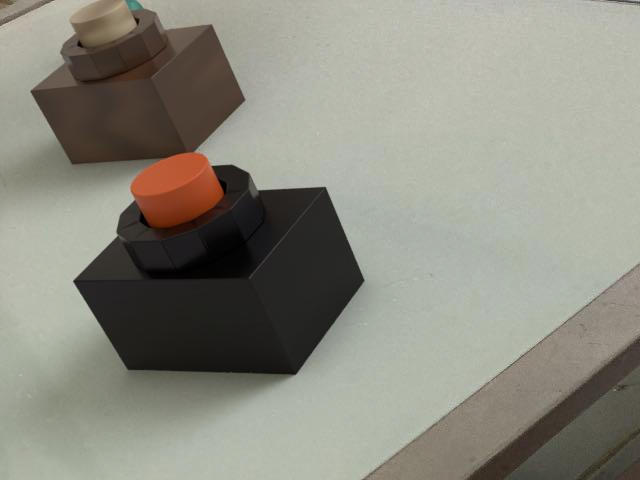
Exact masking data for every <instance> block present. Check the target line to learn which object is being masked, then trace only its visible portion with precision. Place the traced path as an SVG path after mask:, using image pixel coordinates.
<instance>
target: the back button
mask: <svg viewBox="0 0 640 480" xmlns="http://www.w3.org/2000/svg"><path fill="white" fill-rule="evenodd" d="M68 20H69V21H68V22H69V24H70V25H71V28H72V29H73V32H74V34H76V35H77V37H78V39H79V40H80V42H81V44H82V46H83V48H88V47H96V46H99V45H102V44H105V43H108V42H111V41H114V40H116V39H118V38H120V37H122V36H124V35H126V34H127V33H129V32H130V31H132V30H133V29H134V28H135V27H136V26H137V24H136V22H135V19H134V17H133V15H132V13H131V11H130V9H129V7H128V5H127V3H126V1H125V0H96V1H94V2H92V3H89V4H87V5H85V6H83V7H81V8H80V9H78V10H77V11H76V12H74V13H73V14H72V15H71V16H70V17H69V19H68Z"/></svg>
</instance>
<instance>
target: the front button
mask: <svg viewBox="0 0 640 480" xmlns="http://www.w3.org/2000/svg"><path fill="white" fill-rule="evenodd" d="M211 166H212V165H211V162H210V160H209V159H208V157H207V156H206V155H205V154H204V153H200V152H195V151H194V152H193V153H183V154H178V155H175V156H171V157H168V158H162V159H160V160H159V161H157V162H155V163H153V164H151V165H150V166H148V167H146V168H145V169H143V170H142V171H141V172H140V173H138V174H137V175H136V176H135V178H134V179H133V180H132V182H131V183H130V187H129V189H130V193H131V194H132V197H133V199H134V200H136V202H137V204H138V206H139V208H140V210H141V211H142V213H143V215H144V217H145V219H146V221H147V222H148V224H149V226H150V227H151V228H167V227H172V226H175V225H178V224H181V223H185V222H188V221H191V220H193V219H194V218H196V217H198V216H199V215H201V214H203V213H205V212H206V211H208V210H210V209H211V208H213V207H214V206H215V205H216V204H217V203H218V202H219V201H220V200H221V198H222V197H223V196H224V192H223V189H222V187H221V185H220V183H219V181H218V179H217V177H216V175H215V173H214V171H213V169H212V167H211Z"/></svg>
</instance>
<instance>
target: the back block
mask: <svg viewBox="0 0 640 480" xmlns="http://www.w3.org/2000/svg"><path fill="white" fill-rule="evenodd" d="M131 13H132V15H133V17H134V19H135V22H136V24H137V26H136V27H135V28H134V29H133V30H132V31H130V32H129V33H127V34H126V35H124V36H122V37H120V38H118V39H116V40H114V41H111V42H108V43H105V44H102V45H99V46H96V47H88V48H83V46H82V44H81V42H80V40H79V39H78V37H77V35H76V33H74V34H73V35H71V37H69V38H68V39H67V40H65V41H64V42H63V44H62V46H61V48H60V50H59V51H60V52H59V54H60V55H61V57H62V59H63V61H64V63H63V64H61V65H60V66H59V67H58V68H57V69H55V70H54V71H53V72H51V73H50V74H49V75H48V76H47V77H46V78H44V79H43V80H42V81H40V82H39V83H38V84H36V85H35V86H34V87H33V88H32V89H30V91H29V92H30V94H31V96H32V97H33V99H34V101H35V103H36V104H37V106H38V108H39V110H40V111H41V113H42V115H43V117H44V119H45V120H46V122H47V124H48V125H49V128H50V129H51V130H52V132H53V134H54V136H55V137H56V139H57V141H58V142H59V145H60V146H61V148H62V150H63V152H64V153H65V155H66V157H67V158H68V160H69V161H70V164H71V165H83V164H84V165H85V164H98V163H99V164H100V163H114V162H128V161H129V162H130V161H144V160H159V159H160V160H161V159H166V158H168V157H171V156H175V155H178V154H183V153H193V152H194V153H195V151H197V150H198V149H199V148H200V146H202V145H203V143H204V142H206V140H207V139H209V137H210V136H212V134H214V132H215V131H216V130H218V128H220V127H221V125H222V124H224V122H225V121H227V119H228V118H230V117H231V116H232V115H233V114H234V112H236V111H237V109H239V107H240V106H241V105H243V103H245V102H246V98H245V95H244V93H243V91H242V89H241V87H240V84H239V82H238V79H237V78H236V75H235V73H234V71H233V68H232V66H231V64H230V61H229V59H228V57H227V55H226V52H225V50H224V48H223V46H222V43H221V41H220V39H219V36H218V35H217V32H216V30H215V28H214V25H213V24H212V23H209V24H201V25H193V26H185V27H184V26H183V27H177V28H169V29H165V28H164V26H163V24H162V21H161V19H160V17H159V16H158V13H157V12H156V11H153V10H150V9H148V8H144V9H139V10H132V11H131Z"/></svg>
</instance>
